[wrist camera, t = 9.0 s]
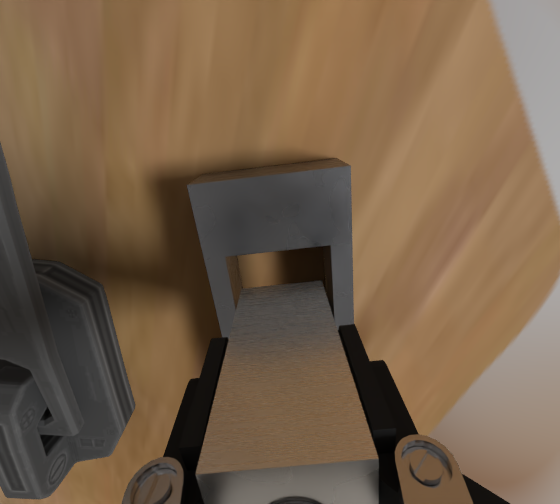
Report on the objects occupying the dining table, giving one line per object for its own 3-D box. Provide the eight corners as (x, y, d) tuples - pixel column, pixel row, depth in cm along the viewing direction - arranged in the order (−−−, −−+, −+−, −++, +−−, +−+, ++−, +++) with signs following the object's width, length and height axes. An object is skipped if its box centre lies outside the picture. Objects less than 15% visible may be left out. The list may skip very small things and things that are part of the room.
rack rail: (202, 174, 16) (186, 185, 13) (337, 158, 15) (350, 165, 13) (263, 467, 25) (262, 510, 22) (348, 459, 25) (357, 502, 22)
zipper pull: (-40, 20, 8) (91, 544, 17) (100, 66, 14) (139, 435, 23) (-435, -33, 7) (-73, 538, 17) (-109, 40, 13) (19, 428, 23)
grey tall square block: (241, 288, 13) (194, 478, 6) (321, 280, 13) (380, 462, 6) (252, 354, 15) (226, 581, 7) (326, 347, 15) (379, 569, 7)
